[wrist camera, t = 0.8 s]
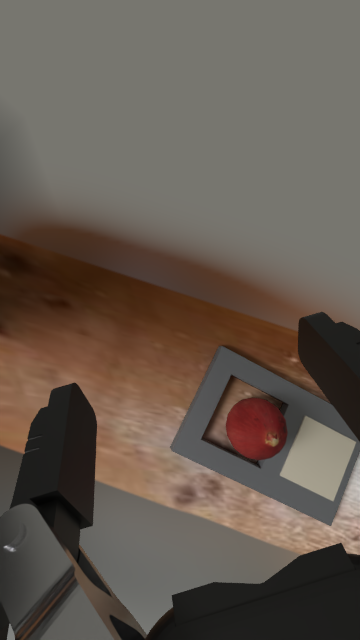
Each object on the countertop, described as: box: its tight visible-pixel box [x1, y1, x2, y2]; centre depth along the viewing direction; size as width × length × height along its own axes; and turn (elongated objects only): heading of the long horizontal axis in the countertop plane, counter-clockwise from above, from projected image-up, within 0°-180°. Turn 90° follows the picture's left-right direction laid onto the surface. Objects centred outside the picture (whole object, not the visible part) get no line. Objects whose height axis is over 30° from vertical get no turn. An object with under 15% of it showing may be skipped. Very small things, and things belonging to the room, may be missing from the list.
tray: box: [170, 346, 360, 526], centre depth 34 cm, size 20×12×1 cm, turn 63°
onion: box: [226, 398, 288, 460], centre depth 30 cm, size 6×6×8 cm
